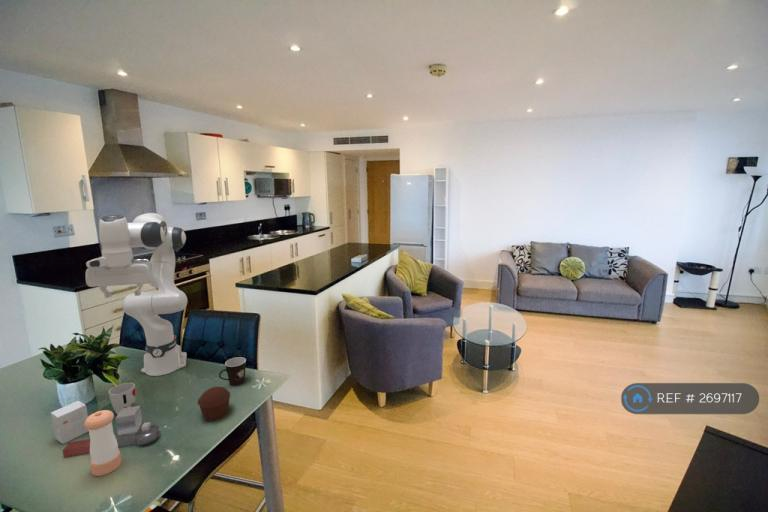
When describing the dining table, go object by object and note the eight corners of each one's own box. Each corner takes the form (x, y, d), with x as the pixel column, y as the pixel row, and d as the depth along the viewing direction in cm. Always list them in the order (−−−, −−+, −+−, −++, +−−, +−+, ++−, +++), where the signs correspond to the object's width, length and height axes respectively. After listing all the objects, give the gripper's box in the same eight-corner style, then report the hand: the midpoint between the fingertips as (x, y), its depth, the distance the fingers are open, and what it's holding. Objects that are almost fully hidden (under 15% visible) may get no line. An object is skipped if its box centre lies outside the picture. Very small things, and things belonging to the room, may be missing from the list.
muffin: (210, 403, 138) (208, 381, 136) (236, 404, 138) (235, 382, 136) (192, 422, 127) (190, 398, 125) (221, 424, 126) (219, 399, 124)
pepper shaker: (116, 472, 104) (107, 416, 100) (87, 478, 102) (77, 422, 98) (125, 455, 111) (117, 402, 107) (98, 461, 108) (88, 407, 105)
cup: (124, 419, 128) (120, 395, 126) (106, 416, 130) (102, 393, 128) (143, 406, 136) (140, 383, 134) (126, 403, 137) (123, 381, 136)
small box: (83, 425, 125) (79, 399, 123) (91, 430, 122) (86, 404, 120) (55, 439, 118) (49, 412, 116) (62, 445, 115) (57, 417, 113)
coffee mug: (245, 375, 160) (244, 355, 158) (248, 384, 152) (247, 363, 150) (218, 382, 154) (216, 361, 152) (220, 391, 146) (218, 370, 145)
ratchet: (73, 446, 115) (70, 430, 113) (162, 430, 122) (160, 416, 121) (60, 461, 108) (57, 445, 107) (156, 444, 116) (154, 429, 115)
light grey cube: (124, 425, 125) (122, 408, 124) (142, 422, 127) (140, 405, 125) (118, 435, 120) (115, 417, 118) (136, 432, 121) (134, 414, 120)
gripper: (154, 257, 130) (158, 291, 133) (89, 259, 124) (95, 295, 127) (148, 260, 124) (152, 296, 127) (80, 263, 118) (86, 301, 121)
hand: (123, 296), depth 127 cm, fingers open, 8 cm apart
